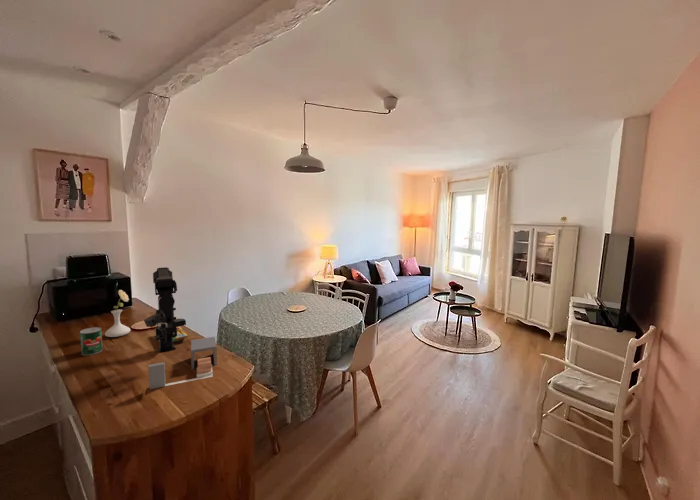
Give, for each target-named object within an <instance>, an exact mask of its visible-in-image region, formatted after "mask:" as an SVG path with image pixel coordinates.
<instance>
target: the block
mask: <svg viewBox="0 0 700 500" xmlns="http://www.w3.org/2000/svg"><path fill="white" fill-rule="evenodd" d="M211 365H212V358H211V356H209V357H208V356H207V357H203V358H198V359H197V367H198V374H201V373H206V372H211Z"/></svg>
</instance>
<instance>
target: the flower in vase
mask: <svg viewBox="0 0 700 500" xmlns="http://www.w3.org/2000/svg"><path fill="white" fill-rule="evenodd" d="M118 295H119V297H120V298H119V299H118V302H117V305H114V306H113V309H114V310H111V311H110V312H111V314H112V315H113V318H114V324H113V325H112V326H111V327H109V328H108V329H107V330H106V331H105V333H104V336H105V337H108V338H117V337H122V336H126V335H127V334H129V333H130V332H131V328H130V327H129V326H127V325H124V324H122V323H121V320H120V319H121V313H122V312H123V309H118V308H119V307H121V308H122V307H124V303H123V302H125V303H128V302H129V301H130V298H129V295H128V294H127V293H126V291H124V290H122V289H119V290H118ZM121 300H122V301H123V302H121Z"/></svg>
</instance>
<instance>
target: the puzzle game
mask: <svg viewBox="0 0 700 500" xmlns="http://www.w3.org/2000/svg"><path fill="white" fill-rule="evenodd" d="M176 328H177V336H176V338H173V343H176V341H177V342H181V341H180V340H182V341H185V339H188V338H189V336H188V334H187V333H186V332H185V331H184V330H183V328H182V326H179V327H176ZM154 332H155V334H156V329H154ZM173 334H174V333H173Z"/></svg>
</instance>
